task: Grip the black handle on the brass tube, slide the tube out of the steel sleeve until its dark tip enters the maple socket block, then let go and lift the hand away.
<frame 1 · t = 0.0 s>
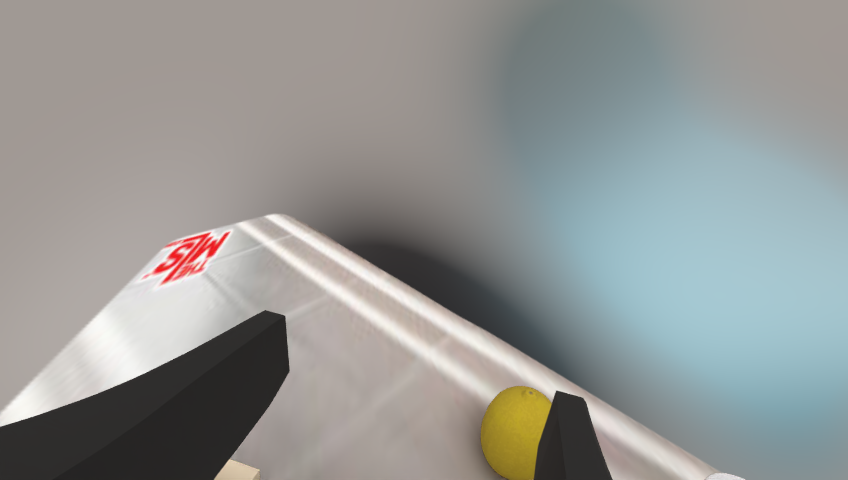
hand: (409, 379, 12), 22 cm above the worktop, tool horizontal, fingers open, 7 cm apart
lemon: (508, 473, 35), on the worktop
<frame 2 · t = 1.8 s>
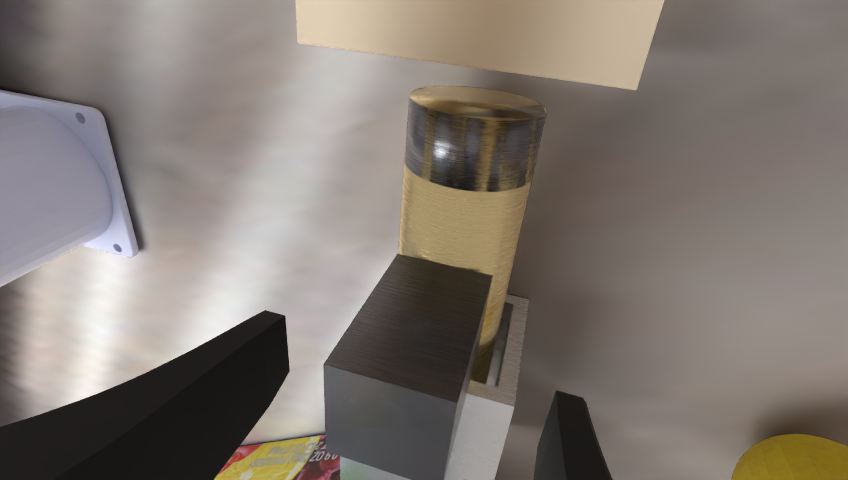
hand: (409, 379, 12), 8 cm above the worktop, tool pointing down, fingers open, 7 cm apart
sleeve: (450, 350, 22), on the worktop
lemon: (781, 435, 19), on the worktop
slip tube: (428, 365, 15), point 6 cm above the worktop, slide at 0.0 cm
snack box: (293, 473, 32), on the worktop
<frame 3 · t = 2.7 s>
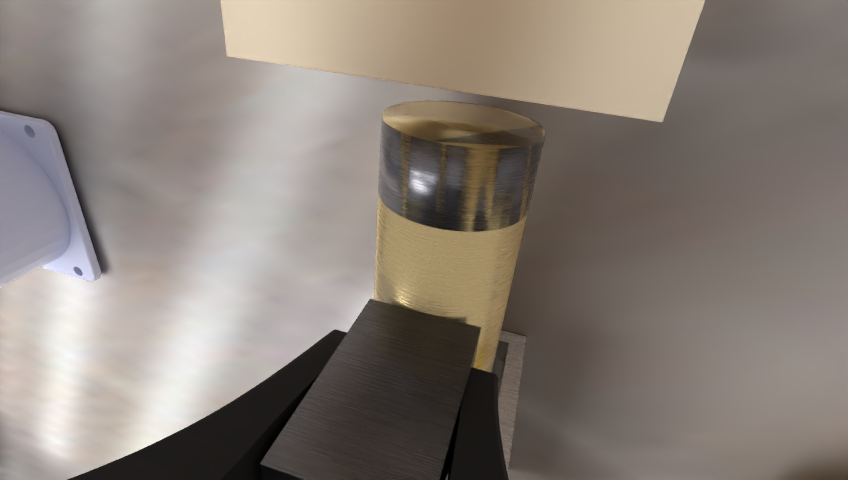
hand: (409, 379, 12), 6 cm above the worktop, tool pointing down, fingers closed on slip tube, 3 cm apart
sleeve: (439, 388, 20), on the worktop
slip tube: (407, 424, 13), point 5 cm above the worktop, slide at 0.0 cm, touching gripper
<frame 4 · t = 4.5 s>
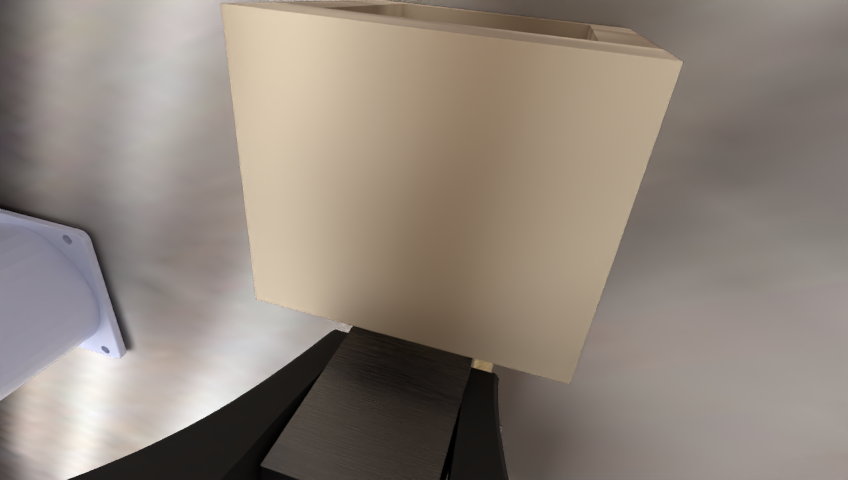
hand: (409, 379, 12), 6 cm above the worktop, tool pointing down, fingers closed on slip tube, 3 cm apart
socket block: (480, 120, 14), on the worktop
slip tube: (407, 425, 13), point 5 cm above the worktop, slide at 5.1 cm, touching gripper
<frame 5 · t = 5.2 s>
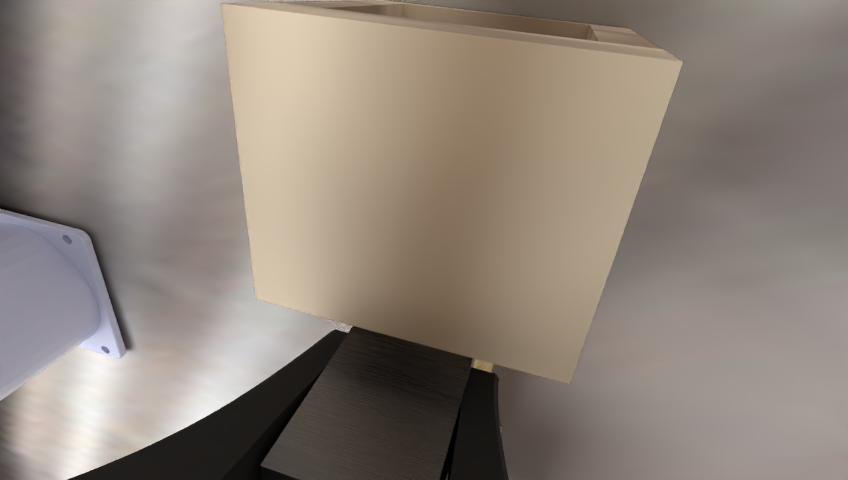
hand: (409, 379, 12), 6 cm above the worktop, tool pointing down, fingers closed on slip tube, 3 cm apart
socket block: (480, 120, 14), on the worktop
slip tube: (407, 425, 13), point 6 cm above the worktop, slide at 5.1 cm, touching gripper
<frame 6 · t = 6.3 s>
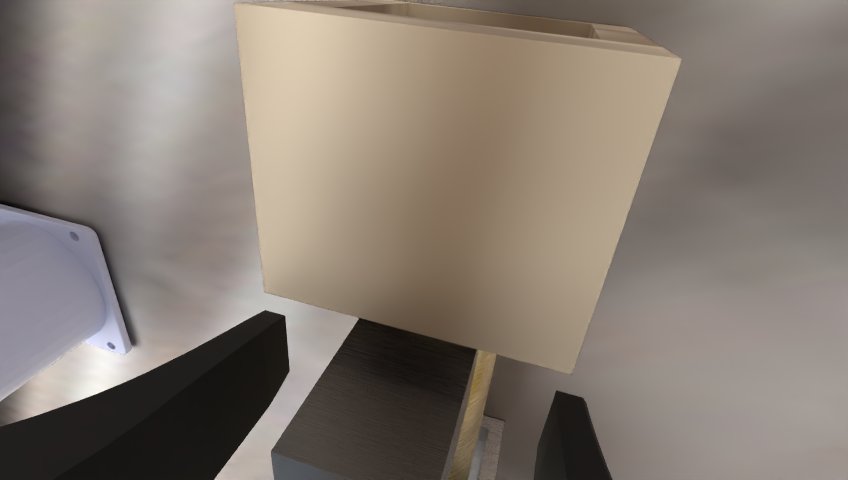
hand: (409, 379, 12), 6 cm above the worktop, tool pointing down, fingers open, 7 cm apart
socket block: (483, 118, 14), on the worktop
sleeve: (431, 456, 23), on the worktop
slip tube: (411, 417, 13), point 5 cm above the worktop, slide at 5.1 cm
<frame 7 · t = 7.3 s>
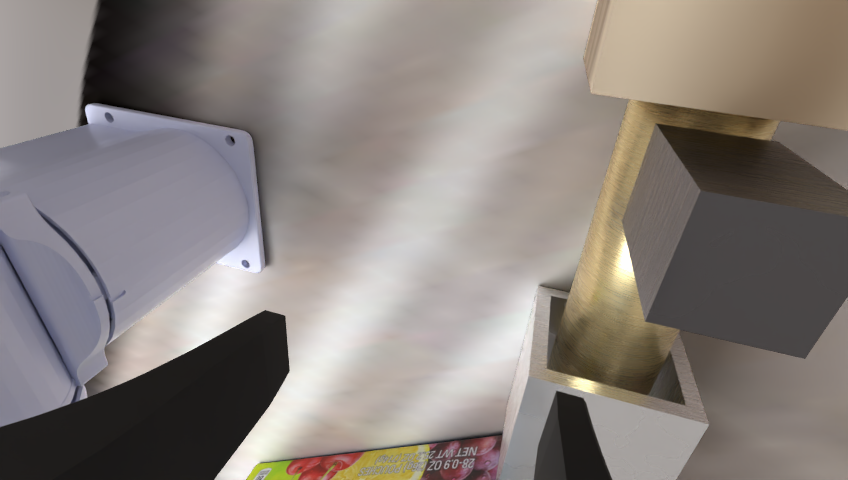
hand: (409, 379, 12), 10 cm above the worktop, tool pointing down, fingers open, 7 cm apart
sleeve: (581, 364, 23), on the worktop
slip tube: (668, 260, 13), point 6 cm above the worktop, slide at 5.1 cm
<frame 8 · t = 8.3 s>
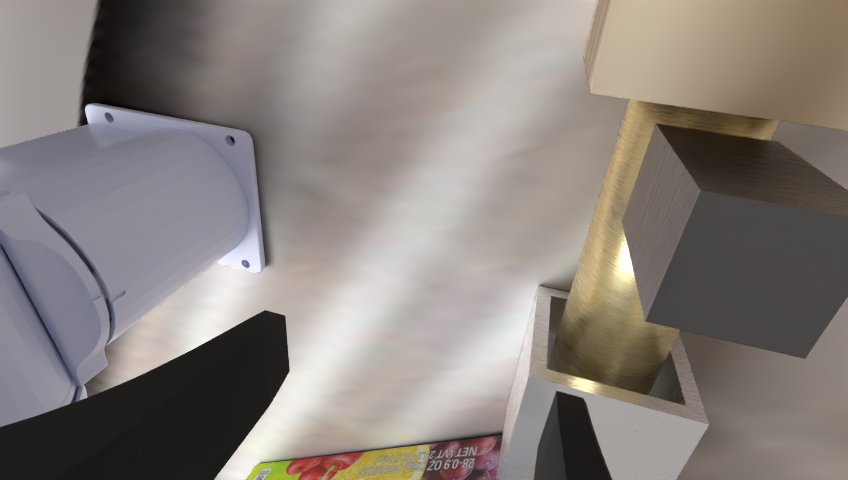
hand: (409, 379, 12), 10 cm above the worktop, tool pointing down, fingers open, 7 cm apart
sleeve: (581, 364, 23), on the worktop
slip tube: (668, 260, 13), point 5 cm above the worktop, slide at 5.1 cm
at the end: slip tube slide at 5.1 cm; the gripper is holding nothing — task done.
